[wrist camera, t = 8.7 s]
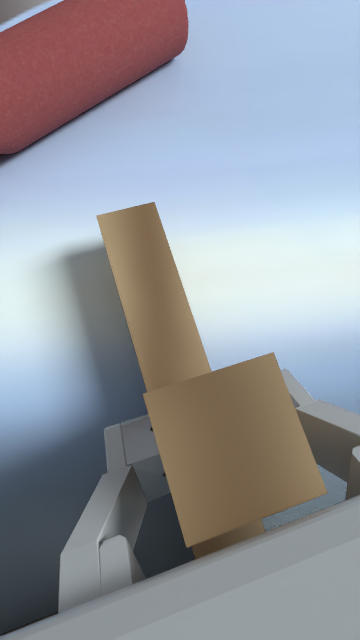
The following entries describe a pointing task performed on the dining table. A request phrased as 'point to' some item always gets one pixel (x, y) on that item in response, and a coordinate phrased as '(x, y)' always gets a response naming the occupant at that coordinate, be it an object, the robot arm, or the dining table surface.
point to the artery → (80, 60)
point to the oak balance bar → (206, 401)
